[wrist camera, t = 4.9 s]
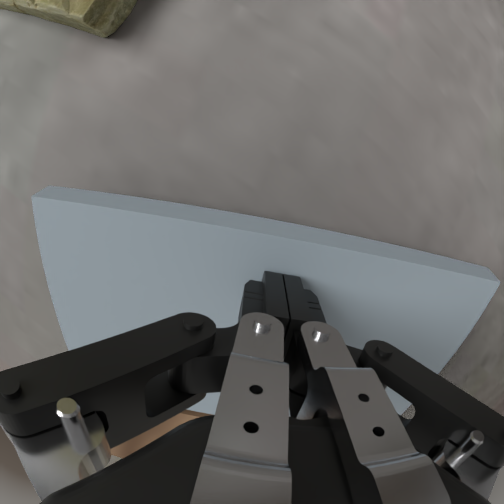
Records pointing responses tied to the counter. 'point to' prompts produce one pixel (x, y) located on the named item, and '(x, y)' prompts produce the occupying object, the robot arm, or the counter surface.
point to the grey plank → (244, 274)
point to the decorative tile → (77, 12)
